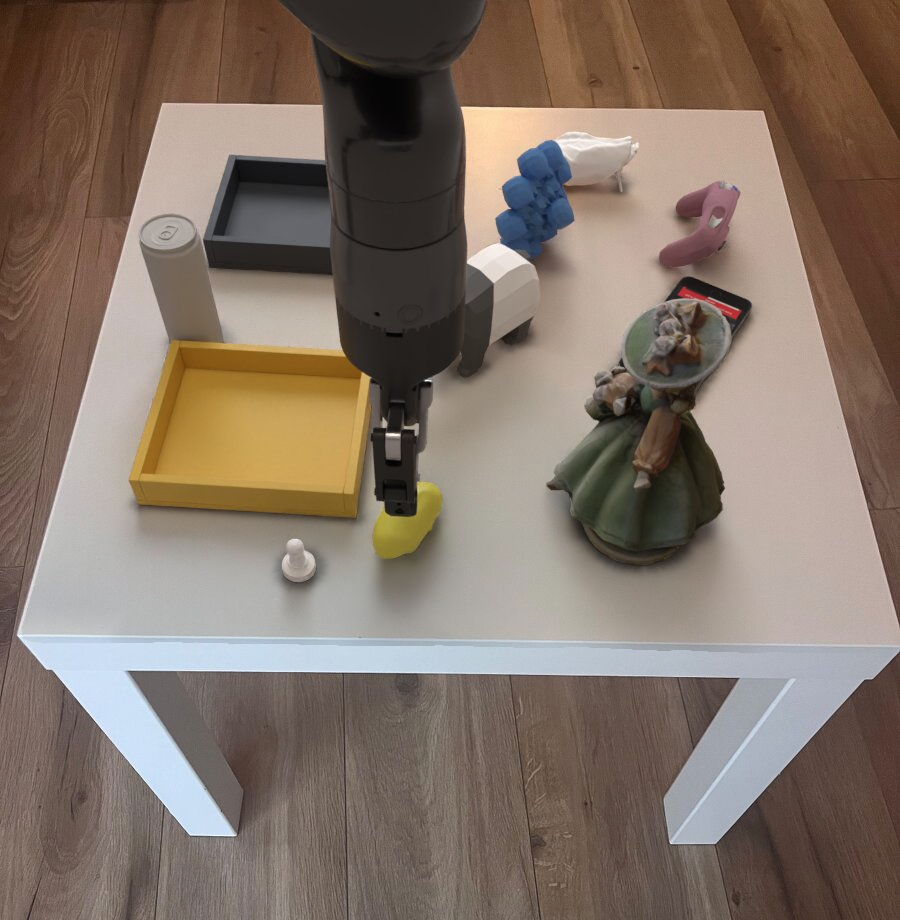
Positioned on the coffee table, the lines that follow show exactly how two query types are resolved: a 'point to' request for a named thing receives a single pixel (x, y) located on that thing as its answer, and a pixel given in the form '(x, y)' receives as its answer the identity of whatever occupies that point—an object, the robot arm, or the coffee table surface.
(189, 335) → the beverage can
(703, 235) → the video game controller
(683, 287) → the smartphone
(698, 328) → the figurine
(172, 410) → the yellow tray
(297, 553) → the chess pawn
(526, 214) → the grapes
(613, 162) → the bird figurine
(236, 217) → the charcoal tray
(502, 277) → the giant panda
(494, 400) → the coffee table surface
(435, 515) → the yellow oblong lump
